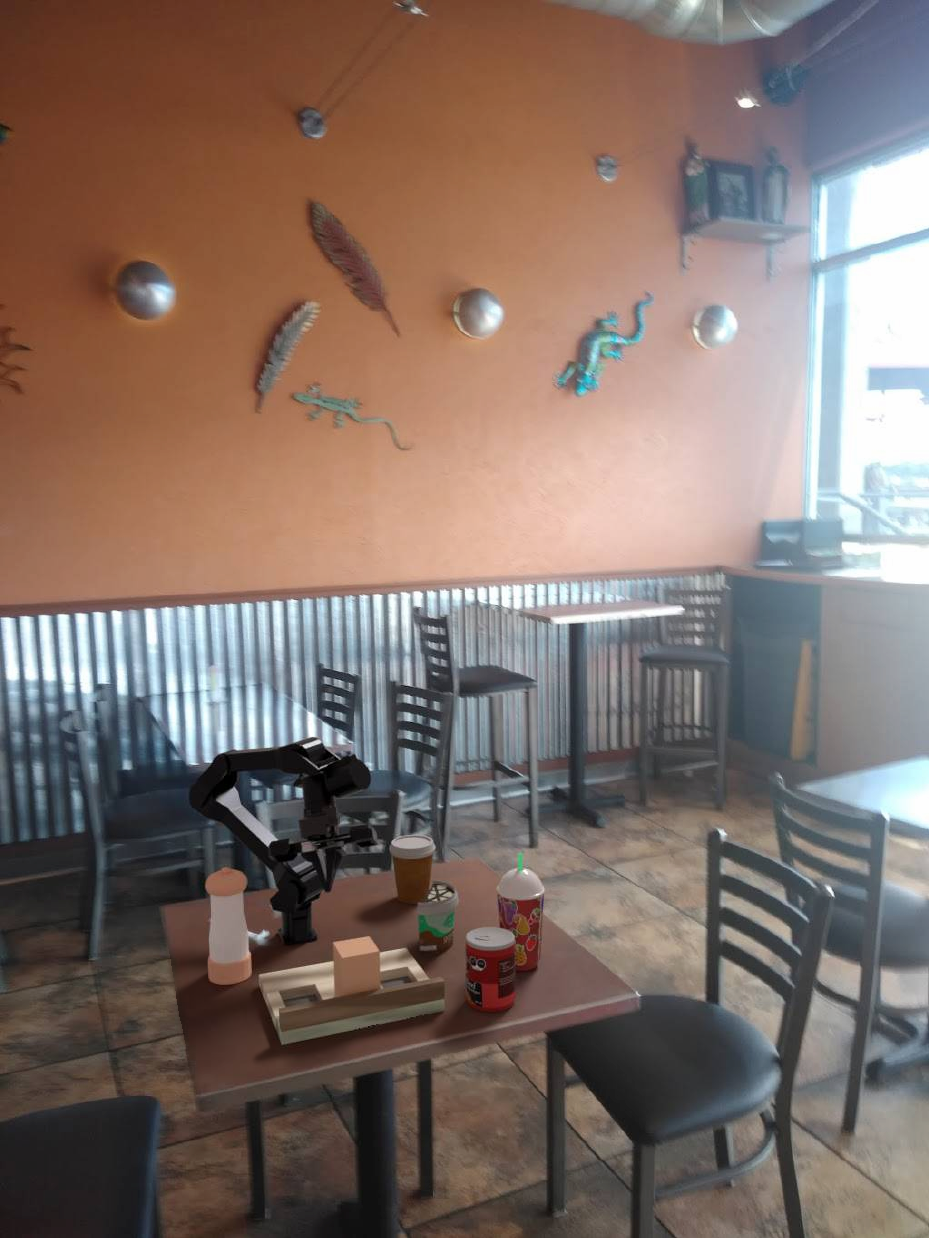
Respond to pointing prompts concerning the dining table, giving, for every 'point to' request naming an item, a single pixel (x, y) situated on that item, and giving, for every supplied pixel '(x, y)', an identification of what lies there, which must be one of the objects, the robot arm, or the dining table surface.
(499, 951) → the canned food
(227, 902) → the salt shaker
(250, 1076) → the dining table surface
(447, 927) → the food container
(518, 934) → the smoothie
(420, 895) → the disposable coffee cup
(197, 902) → the dining table surface
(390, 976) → the board
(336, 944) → the block
